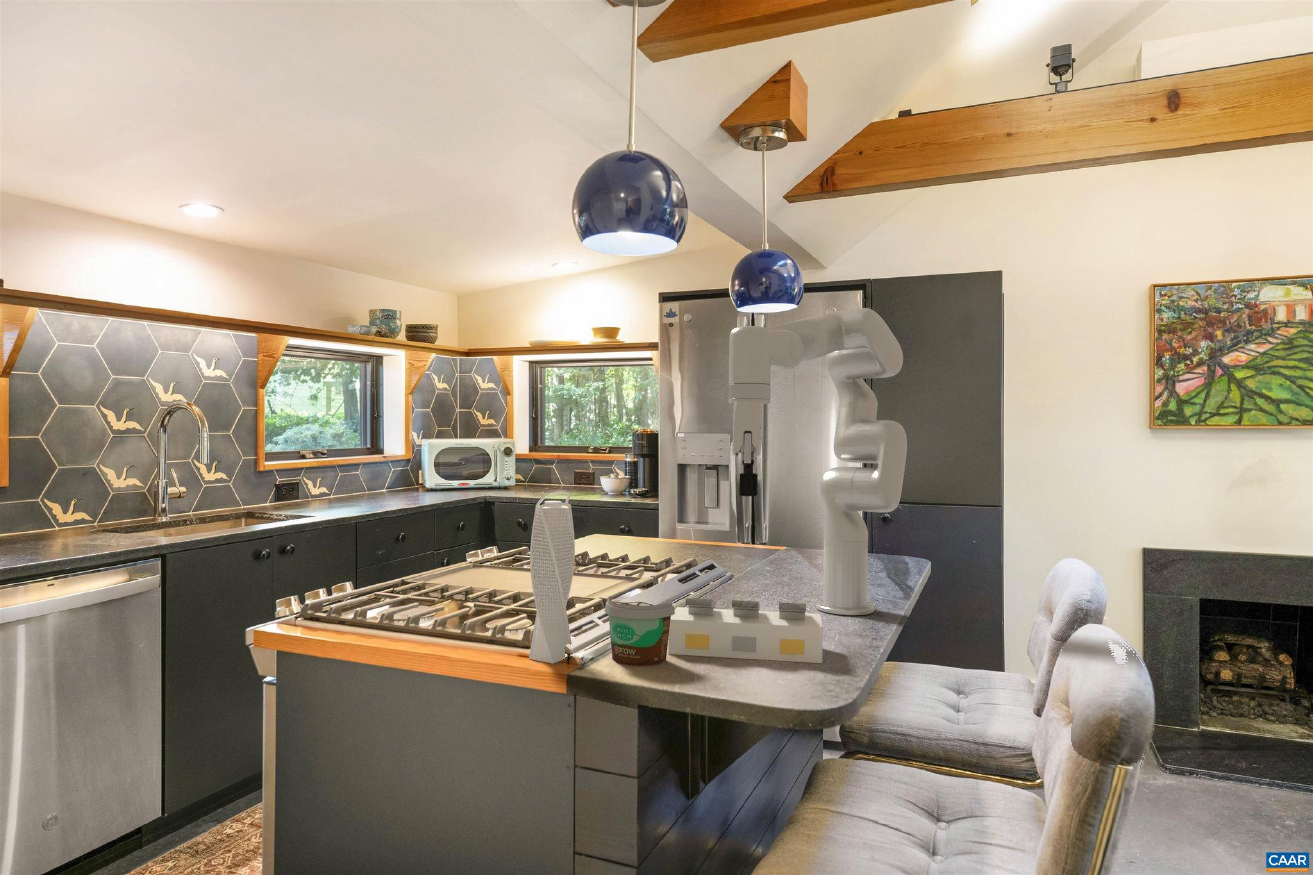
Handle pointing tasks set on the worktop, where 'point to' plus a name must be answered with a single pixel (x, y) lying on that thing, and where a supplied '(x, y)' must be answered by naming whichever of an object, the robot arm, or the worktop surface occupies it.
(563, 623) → the skyscraper
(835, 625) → the worktop surface
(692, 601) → the switch
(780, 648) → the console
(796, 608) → the switch
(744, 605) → the switch
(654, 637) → the food container
